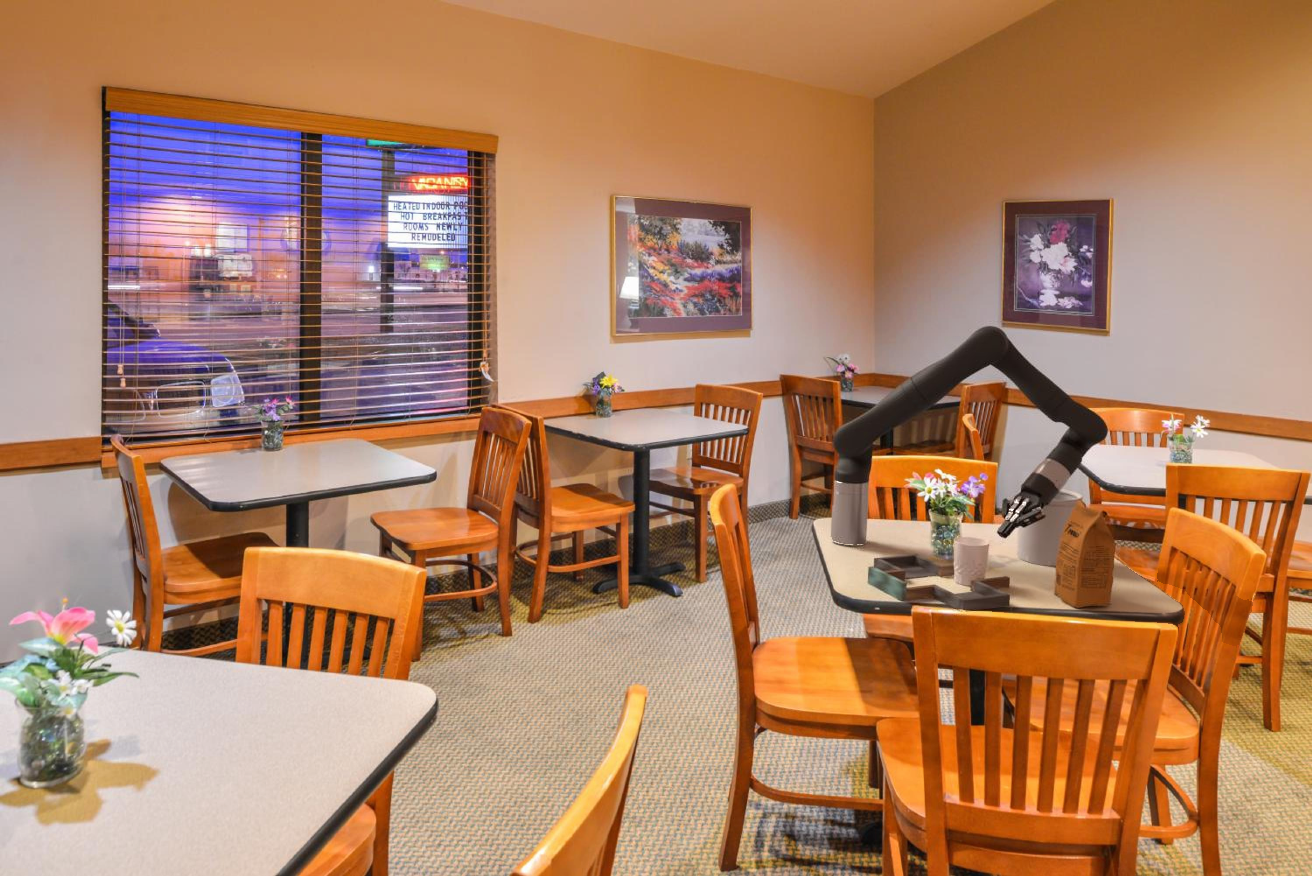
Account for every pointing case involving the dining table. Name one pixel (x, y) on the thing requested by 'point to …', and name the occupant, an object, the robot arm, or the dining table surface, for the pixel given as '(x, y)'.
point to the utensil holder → (1047, 530)
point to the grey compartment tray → (898, 568)
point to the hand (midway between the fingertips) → (1000, 535)
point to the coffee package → (1085, 559)
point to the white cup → (970, 559)
